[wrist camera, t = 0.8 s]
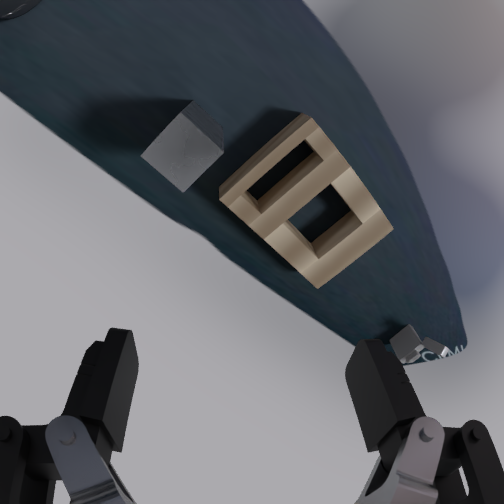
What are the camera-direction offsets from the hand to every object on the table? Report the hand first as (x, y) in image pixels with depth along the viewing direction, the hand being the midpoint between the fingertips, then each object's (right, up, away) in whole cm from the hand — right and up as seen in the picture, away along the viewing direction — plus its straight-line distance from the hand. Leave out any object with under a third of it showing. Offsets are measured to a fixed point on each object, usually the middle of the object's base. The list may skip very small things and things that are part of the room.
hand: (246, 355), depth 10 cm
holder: (+6, +8, +19) cm, 22 cm away
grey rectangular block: (-5, +14, +14) cm, 21 cm away
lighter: (+24, -8, +32) cm, 41 cm away
